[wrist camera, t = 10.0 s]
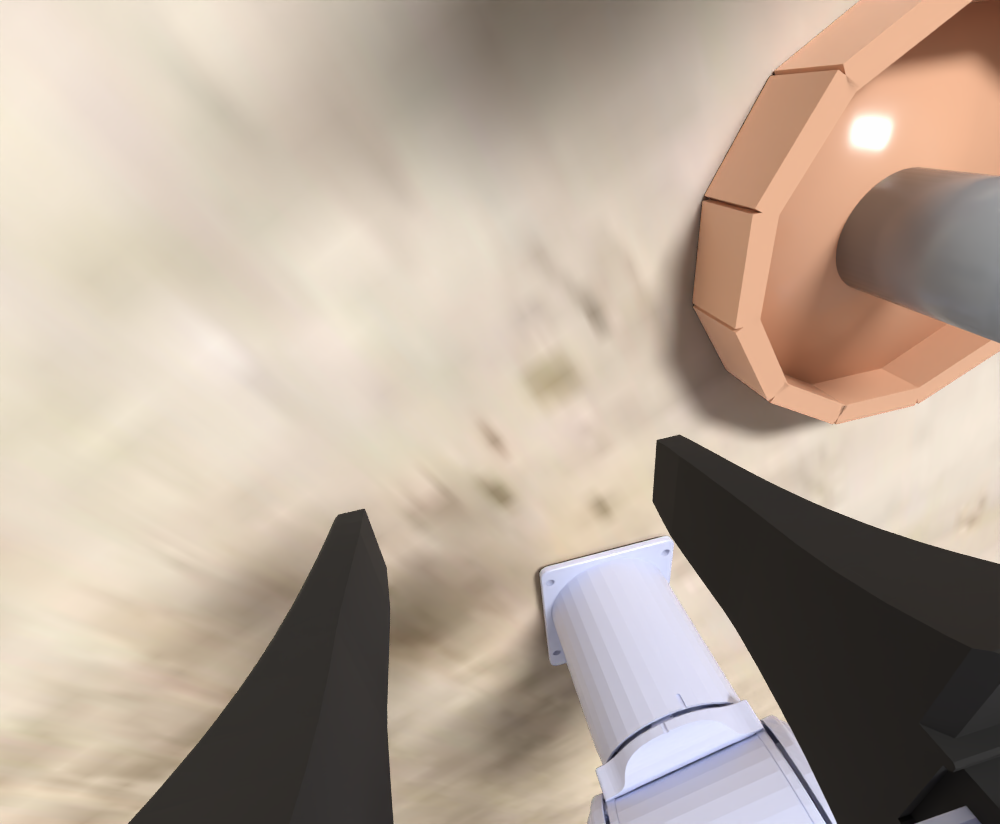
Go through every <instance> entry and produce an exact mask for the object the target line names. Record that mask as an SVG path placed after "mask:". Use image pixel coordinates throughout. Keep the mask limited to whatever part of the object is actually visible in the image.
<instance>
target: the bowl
mask: <svg viewBox="0 0 1000 824" xmlns="http://www.w3.org/2000/svg"><path fill="white" fill-rule="evenodd" d="M774 72H775V75H773V76H770V77H769V79H768V80H767V82H766V84H765V86H764V88H763V89H762V91H761V93H760V95H759V97H758V99H757V100H756V102H755V104H754V106H753V108H752V109H751V111H750V113H749V115H748V117H747V119H746V120H745V122H744V124H743V126H742V128H741V129H740V131H739V133H738V135H737V137H736V139H735V140H734V142H733V144H732V146H731V148H730V149H729V151H728V153H727V155H726V157H725V159H724V160H723V162H722V164H721V166H720V168H719V169H718V171H717V173H716V175H715V177H714V179H713V180H712V182H711V184H710V186H709V188H708V190H707V191H706V193H705V195H704V196H706V197H708V198H710V199H709V200H704V201H702V211H701V221H700V231H699V241H698V251H697V261H696V271H695V281H694V291H693V301H692V303H693V304H695V305H694V306H693V308H694V310H695V311H696V313H697V315H698V317H699V319H700V321H701V323H702V325H703V327H704V329H705V331H706V333H707V334H708V336H709V338H710V340H711V342H712V344H713V346H714V348H715V350H716V352H717V354H718V356H719V357H720V359H721V361H722V363H723V365H724V367H725V369H726V370H727V371H728V372H729V373H731V374H732V375H733V376H735V377H736V378H737V379H739V380H740V381H742V382H743V383H744V384H746V385H747V386H748V387H750V388H751V389H752V390H754V391H755V392H756V393H758V394H759V395H760V396H762V397H763V398H764V399H766V400H767V401H768V402H770V403H772V404H775V405H778V406H781V407H784V408H787V409H790V410H793V411H796V412H798V413H801V414H804V415H807V416H810V417H813V418H816V419H819V420H822V421H825V422H828V423H830V424H834V423H835V424H840V423H844V422H848V421H852V420H856V419H860V418H865V417H869V416H873V415H877V414H881V413H885V412H889V411H894V410H898V409H902V408H906V407H910V406H914V405H915V403H918V404H919V403H920V402H922V401H923V400H925V399H926V398H928V397H929V396H931V395H933V394H934V393H936V392H937V391H939V390H940V389H942V388H943V387H945V386H946V385H948V384H950V383H951V382H953V381H954V380H956V379H957V378H959V377H960V376H962V375H963V374H965V373H966V372H968V371H970V370H971V369H973V368H974V367H976V366H977V365H979V364H980V363H982V362H983V361H985V360H987V359H988V358H990V357H991V356H993V355H994V354H996V353H997V352H999V351H1000V343H998V342H995V341H992V340H990V339H987V338H984V337H982V336H979V335H976V334H974V333H971V332H968V331H966V330H963V329H960V328H958V327H955V326H952V325H950V324H947V323H944V322H942V321H939V320H936V319H934V318H931V317H928V316H926V315H923V314H920V313H918V312H915V311H912V310H910V309H907V308H904V307H902V306H899V305H896V304H894V303H891V302H888V301H886V300H883V299H880V298H878V297H875V296H872V295H870V294H867V293H864V292H862V291H859V290H856V289H854V288H851V287H849V286H848V285H846V284H845V283H844V282H843V281H842V279H841V278H840V276H839V274H838V271H837V267H836V249H837V245H838V240H839V237H840V234H841V232H842V229H843V227H844V225H845V223H846V221H847V219H848V217H849V216H850V214H851V213H852V211H853V209H854V208H855V207H856V205H857V204H858V203H859V201H860V200H861V199H862V198H863V197H864V196H865V195H866V194H867V193H868V192H869V191H870V190H871V189H872V188H873V187H874V186H875V185H877V184H878V183H879V182H880V181H882V180H883V179H885V178H886V177H888V176H890V175H892V174H894V173H895V172H898V171H900V170H903V169H907V168H912V167H922V168H932V169H941V170H951V171H960V172H970V173H979V174H989V175H998V176H1000V0H860V1H859V2H857V3H856V4H855V5H854V6H852V7H851V8H850V9H849V10H848V11H846V12H845V13H844V14H843V15H841V16H840V17H839V18H838V19H837V20H835V21H834V22H833V23H832V24H831V25H829V26H828V27H827V28H826V29H824V30H823V31H822V32H821V33H820V34H818V35H817V36H816V37H815V38H813V39H812V40H811V41H810V42H809V43H807V44H806V45H805V46H804V47H802V48H801V49H800V50H799V51H798V52H796V53H795V54H794V55H793V56H792V57H790V58H789V59H788V60H787V61H785V62H784V63H783V64H782V65H781V66H779V67H778V68H777V69H776V70H774Z"/></svg>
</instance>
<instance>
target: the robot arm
mask: <svg viewBox="0 0 1000 824" xmlns="http://www.w3.org/2000/svg"><path fill="white" fill-rule="evenodd" d="M653 503H654V505H655V507H656V509H657V511H658V513H659V515H660V517H661V519H662V521H663V523H664V524H665V526H666V528H667V530H668V532H669V533H670V535H671V537H672V538H673V540H674V541H675V543H676V544H677V546H678V547H679V548H680V550H681V551H682V553H683V554H684V556H685V557H686V558H687V560H688V561H689V563H690V564H691V566H692V567H693V568H694V570H695V571H696V573H697V574H698V575H699V577H700V578H701V580H702V581H703V582H704V584H705V585H706V587H707V588H708V589H709V591H710V592H711V594H712V595H713V596H714V598H715V599H716V601H717V602H718V603H719V605H720V606H721V608H722V609H723V610H724V612H725V613H726V615H727V616H728V618H729V619H730V621H731V622H732V624H733V625H734V627H735V629H736V630H737V632H738V634H739V635H740V637H741V639H742V641H743V642H744V644H745V646H746V647H747V649H748V651H749V653H750V654H751V656H752V658H753V660H754V661H755V663H756V665H757V667H758V668H759V670H760V672H761V674H762V676H763V678H764V679H765V681H766V683H767V685H768V687H769V689H770V690H771V692H772V694H773V696H774V698H775V699H776V701H777V703H778V705H779V707H780V709H781V711H782V713H783V714H784V716H785V718H786V720H787V722H788V723H786V722H784V721H781V720H779V719H778V718H777V717H775V716H773V715H769V716H767V717H765V718H763V719H762V720H760V721H761V722H760V721H759V719H758V718H757V716H756V714H755V713H754V711H753V710H752V708H751V706H750V705H749V703H748V702H747V700H742V701H741V700H740V699H739V697H738V696H737V694H736V692H735V691H734V689H733V687H732V686H731V684H730V683H729V681H728V679H727V678H726V676H725V675H724V673H723V671H722V670H721V668H720V666H719V665H718V663H717V662H716V660H715V658H714V657H713V655H712V653H711V652H710V650H709V649H708V647H707V645H706V644H705V642H704V640H703V639H702V637H701V636H700V634H699V632H698V631H697V629H696V627H695V626H694V624H693V623H692V621H691V619H690V618H689V616H688V615H687V613H686V611H685V610H684V608H683V606H682V605H681V603H680V602H679V600H678V598H677V597H676V595H675V593H674V592H673V590H672V589H671V587H670V585H669V583H670V574H671V565H672V556H673V546H674V543H673V541H672V539H671V538H670V537H668V536H663V537H659V538H655V539H651V540H647V541H643V542H640V543H636V544H632V545H628V546H624V547H620V548H616V549H613V550H609V551H605V552H601V553H597V554H593V555H589V556H585V557H582V558H578V559H574V560H570V561H566V562H562V563H558V564H555V565H551V566H547V567H544V568H543V569H542V570H541V571H540V574H539V576H540V584H541V593H542V602H543V611H544V619H545V628H546V637H547V645H548V654H549V660H550V663H551V664H552V665H554V666H557V665H561V664H564V663H567V666H568V669H569V672H570V675H571V678H572V681H573V683H574V686H575V689H576V692H577V695H578V698H579V701H580V704H581V707H582V710H583V713H584V716H585V719H586V722H587V724H588V727H589V730H590V733H591V736H592V739H593V742H594V745H595V748H596V750H597V753H598V755H599V757H600V759H601V761H602V764H603V765H602V766H600V767H598V768H596V770H595V771H596V774H597V777H598V780H599V783H600V786H601V789H602V792H603V793H601V794H599V795H596V796H594V797H593V799H592V801H591V807H590V814H589V817H588V822H587V824H1000V564H998V563H993V562H990V561H986V560H982V559H978V558H975V557H971V556H967V555H963V554H960V553H956V552H952V551H949V550H945V549H942V548H938V547H935V546H932V545H928V544H925V543H922V542H918V541H915V540H912V539H909V538H906V537H903V536H900V535H897V534H894V533H891V532H888V531H885V530H882V529H879V528H876V527H873V526H871V525H868V524H865V523H862V522H860V521H857V520H855V519H852V518H850V517H847V516H845V515H842V514H839V513H837V512H834V511H832V510H829V509H827V508H824V507H822V506H820V505H817V504H815V503H813V502H811V501H808V500H806V499H804V498H802V497H800V496H798V495H795V494H793V493H791V492H789V491H787V490H785V489H782V488H780V487H778V486H776V485H774V484H772V483H770V482H768V481H766V480H764V479H762V478H760V477H758V476H756V475H754V474H753V473H751V472H749V471H747V470H745V469H743V468H741V467H739V466H737V465H736V464H734V463H732V462H730V461H728V460H726V459H724V458H723V457H721V456H719V455H717V454H715V453H713V452H712V451H710V450H708V449H706V448H704V447H702V446H701V445H699V444H697V443H695V442H693V441H691V440H689V439H687V438H685V437H683V436H681V435H677V436H672V437H668V438H664V439H660V440H657V444H656V458H655V473H654V487H653ZM389 633H390V601H389V589H388V578H387V567H386V565H385V562H384V559H383V557H382V554H381V551H380V549H379V546H378V543H377V540H376V538H375V535H374V532H373V530H372V527H371V524H370V522H369V519H368V516H367V513H366V511H365V509H361V510H357V511H352V512H348V513H344V514H340V515H338V516H337V517H336V518H335V520H334V522H333V525H332V527H331V529H330V531H329V534H328V536H327V538H326V540H325V542H324V545H323V547H322V549H321V551H320V553H319V555H318V557H317V559H316V561H315V563H314V565H313V567H312V569H311V571H310V573H309V575H308V577H307V579H306V581H305V583H304V585H303V587H302V589H301V591H300V593H299V594H298V596H297V598H296V600H295V602H294V604H293V605H292V607H291V609H290V610H289V612H288V614H287V616H286V617H285V619H284V621H283V622H282V624H281V626H280V628H279V629H278V631H277V633H276V634H275V636H274V638H273V639H272V641H271V642H270V644H269V646H268V647H267V649H266V650H265V652H264V653H263V655H262V657H261V658H260V660H259V661H258V663H257V664H256V666H255V667H254V668H253V670H252V671H251V673H250V674H249V676H248V677H247V679H246V680H245V682H244V683H243V684H242V686H241V687H240V689H239V690H238V691H237V693H236V694H235V695H234V697H233V698H232V699H231V701H230V702H229V703H228V705H227V706H226V708H225V709H224V710H223V712H222V713H221V714H220V716H219V717H218V718H217V720H216V721H215V722H214V724H213V725H212V726H211V727H210V729H209V730H208V731H207V732H206V734H205V735H204V736H203V738H202V739H201V740H200V741H199V743H198V744H197V745H196V746H195V747H194V749H193V750H192V751H191V752H190V753H189V754H188V756H187V757H186V758H185V759H184V760H183V762H182V763H181V764H180V765H179V766H178V767H177V769H176V770H175V771H174V772H173V773H172V774H171V776H170V777H169V778H168V779H167V780H166V782H165V783H164V784H163V785H162V786H161V787H160V789H159V790H158V791H157V792H156V793H155V794H154V795H153V797H152V798H151V799H150V800H149V801H148V802H147V803H146V804H145V806H144V807H143V808H142V809H141V810H140V811H139V812H138V813H137V814H136V815H135V817H134V818H133V819H132V820H131V821H130V822H129V823H128V824H393V810H392V796H391V782H390V767H389V750H388V733H387V695H388V664H389Z"/></svg>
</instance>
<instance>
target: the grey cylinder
mask: <svg viewBox="0 0 1000 824" xmlns="http://www.w3.org/2000/svg"><path fill="white" fill-rule="evenodd" d="M836 267H837V271H838V274H839V276H840V278H841V279H842V281H843V282H844V283H845V284H846V285H848V286H849V287H851V288H854V289H856V290H859V291H862V292H864V293H867V294H870V295H872V296H875V297H878V298H880V299H883V300H886V301H888V302H891V303H894V304H896V305H899V306H902V307H904V308H907V309H910V310H912V311H915V312H918V313H920V314H923V315H926V316H928V317H931V318H934V319H936V320H939V321H942V322H944V323H947V324H950V325H952V326H955V327H958V328H960V329H963V330H966V331H968V332H971V333H974V334H976V335H979V336H982V337H984V338H987V339H990V340H992V341H995V342H998V343H1000V176H998V175H989V174H979V173H970V172H960V171H951V170H941V169H932V168H922V167H912V168H907V169H903V170H900V171H898V172H895V173H894V174H892V175H890V176H888V177H886V178H885V179H883V180H882V181H880V182H879V183H878V184H877V185H875V186H874V187H873V188H872V189H871V190H870V191H869V192H868V193H867V194H866V195H865V196H864V197H863V198H862V199H861V200H860V201H859V203H858V204H857V205H856V207H855V208H854V209H853V211H852V213H851V214H850V216H849V217H848V219H847V221H846V223H845V225H844V227H843V229H842V232H841V234H840V237H839V240H838V245H837V249H836Z"/></svg>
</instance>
